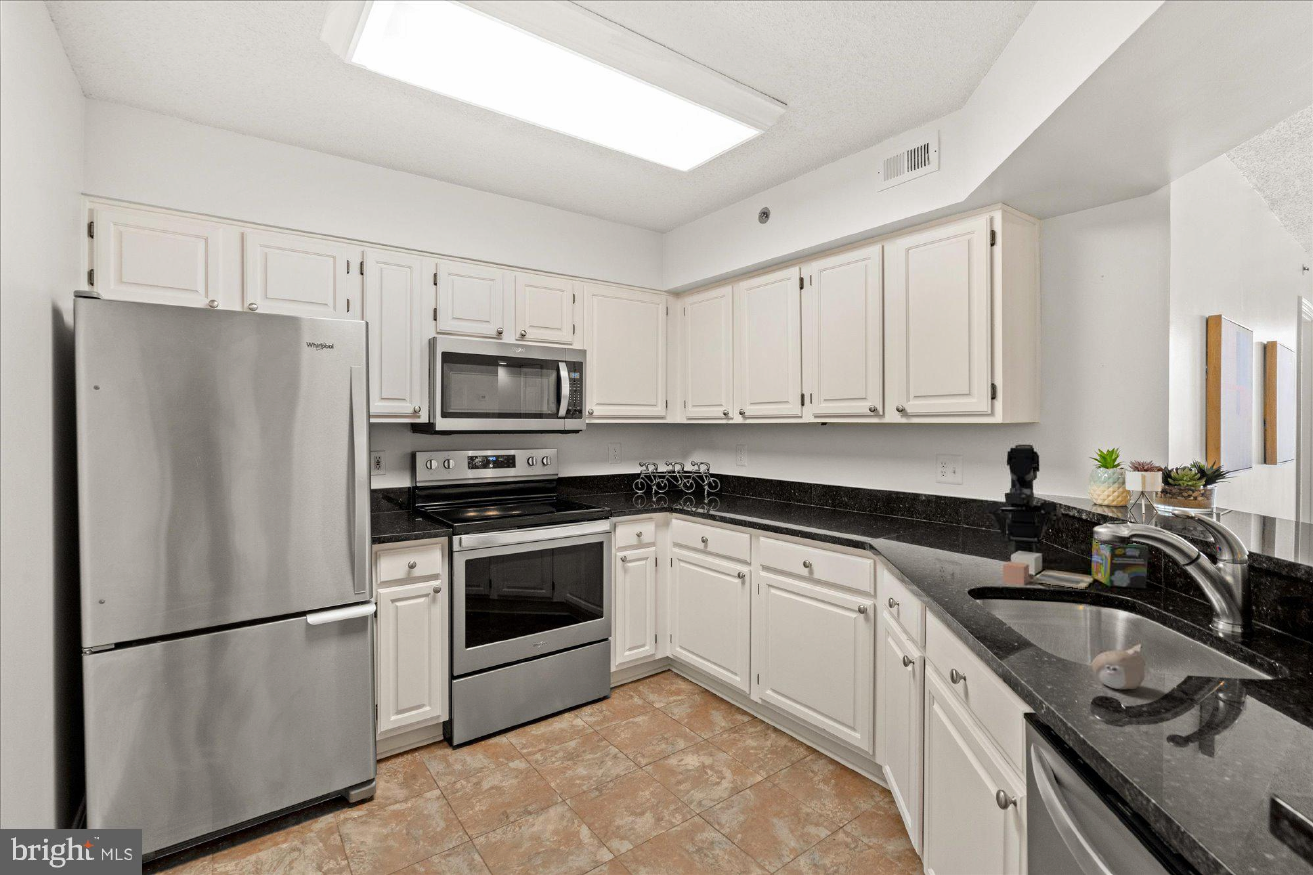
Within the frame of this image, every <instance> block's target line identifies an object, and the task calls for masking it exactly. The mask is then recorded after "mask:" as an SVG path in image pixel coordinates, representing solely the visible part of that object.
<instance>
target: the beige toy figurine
mask: <svg viewBox="0 0 1313 875" xmlns="http://www.w3.org/2000/svg"><path fill="white" fill-rule="evenodd" d="M1141 644H1142V643H1139V644H1136V645H1134V646H1132V648H1130V649H1125V650H1119V649H1117V650H1107V651H1104V652H1101V653H1099V654H1098V655H1097V656H1096V657H1095V658H1094V659H1093V661H1092V662H1091V668H1092V671H1093V673H1094V675H1095V678H1097V680H1099V682H1101V683H1102V684H1104V685H1106V686H1107V687H1109V688H1111V689H1116V690H1134V689H1137V688H1138V687H1140V686H1141V685H1142V684H1143V682H1144V680H1145V678H1146V677H1145V676H1146V675H1145V674H1146V673H1145V671H1146V670H1145V667H1146V666H1145V665H1146V662H1145V660H1144V658H1143V656H1141V654H1140V652H1141V651H1142V648H1143V645H1141Z"/></svg>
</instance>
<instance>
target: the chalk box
mask: <svg viewBox="0 0 1313 875" xmlns="http://www.w3.org/2000/svg"><path fill="white" fill-rule="evenodd" d="M1145 545H1146V544H1145ZM1145 545H1141V544H1136V543H1133V544H1128V545H1124V546H1121V547H1116V546H1107V545H1100V544H1098V543H1096V542H1095V541H1094V537H1092V553H1091V575H1090V576H1091V577H1093V578H1095V580H1098V581H1099V582H1101V583H1103V584H1105V585H1107V587H1120V588H1121V587H1122V588H1123V587H1124V588H1134V589H1135V588H1136V589H1146V588H1147V574H1148V573H1147V572H1148V561H1149V560H1148V558H1149V547H1148V546H1149V545H1148V546H1145Z"/></svg>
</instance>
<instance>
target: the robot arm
mask: <svg viewBox="0 0 1313 875" xmlns="http://www.w3.org/2000/svg"><path fill="white" fill-rule="evenodd" d="M1014 446H1015V447H1010V448H1009V450H1008V451H1007V455H1006V456H1007V457H1006V465H1007V467H1008V466H1009V467H1008V469H1009V474H1010V488H1009V492H1005V493H1004V499H1005V505H1008V506H1003V505H1002V504H1001V503H999V502H996V503H995V502H993V503H992V502H991V503H990V502H989V503H986V504H985V505H984V512H985V513H986V514H987V515H988V516H990V517H992V518H993V519H994V520H995V521H996V522H997V525H998V528H999V531H1000V533H1001V537H1002V538H1003V539H1006V537H1007V539H1008V540H1007V542H1013V550H1012V551H1013V554H1014V553H1016V552H1018V551H1025V552H1033V553H1036V551H1035V546H1036V545H1037V544H1042V543H1043V536H1044V535H1045V532H1046V530H1047V529H1048V527H1049V525H1050V524H1051V523H1052V521H1054V520H1056V519H1057V518H1060V517H1062V509H1061V507H1060V506H1059V505H1058V504H1057V503H1055V502H1040V505H1039V506H1037V505H1036V506H1035V505H1034V499H1035V492H1034V481H1035V480H1037V478H1038V472H1040V455H1039V453H1038V451H1035V448H1034V445H1033V444H1016V445H1014ZM1009 513H1010V514H1011V515H1010V521H1009V522H1008V523H1007V518H1006V517H1005V514H1009ZM1036 514H1038V516H1039V518H1038V519H1039V523H1037V516H1036ZM1006 535H1007V536H1006ZM1035 544H1036V545H1035ZM1009 561H1010V562H1011V558H1010V559H1009Z"/></svg>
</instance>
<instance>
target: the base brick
mask: <svg viewBox="0 0 1313 875" xmlns="http://www.w3.org/2000/svg"><path fill="white" fill-rule="evenodd" d="M1010 559H1011V561H1010V562H1018V563H1025V564H1029V575H1033V576H1035V575H1036V574H1038V573H1039V572H1041V571H1042V570H1043V553H1039V552H1035V553H1033V552H1025V551H1018V552H1016V553H1014V552H1013V554H1011V555H1010Z"/></svg>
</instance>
